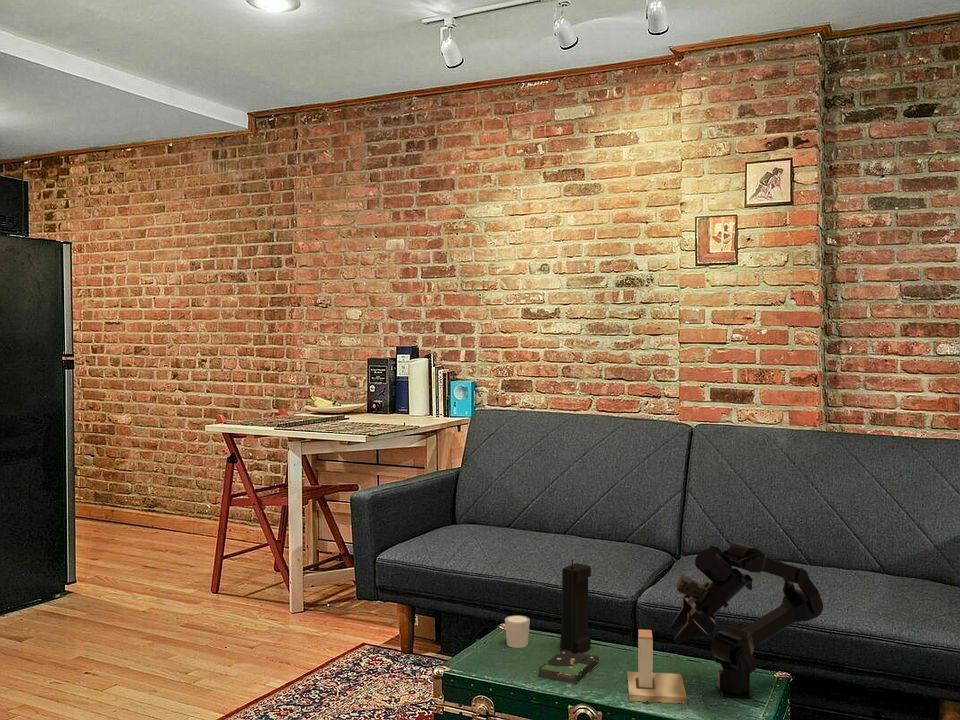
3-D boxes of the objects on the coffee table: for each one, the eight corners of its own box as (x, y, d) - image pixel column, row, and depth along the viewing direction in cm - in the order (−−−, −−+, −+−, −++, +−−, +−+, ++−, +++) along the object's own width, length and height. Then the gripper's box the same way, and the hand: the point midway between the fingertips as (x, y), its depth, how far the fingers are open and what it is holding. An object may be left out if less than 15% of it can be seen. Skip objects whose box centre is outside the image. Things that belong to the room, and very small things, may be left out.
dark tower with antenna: (574, 642, 243) (574, 552, 242) (593, 647, 239) (593, 556, 239) (558, 650, 237) (558, 558, 236) (577, 656, 233) (577, 562, 233)
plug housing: (651, 679, 214) (651, 630, 213) (652, 687, 208) (652, 637, 208) (638, 678, 214) (638, 629, 214) (639, 687, 209) (639, 636, 209)
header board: (680, 680, 217) (681, 661, 217) (686, 703, 203) (686, 684, 203) (627, 677, 219) (627, 659, 219) (629, 701, 205) (629, 681, 205)
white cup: (518, 638, 247) (518, 613, 247) (535, 644, 242) (535, 619, 242) (499, 643, 243) (499, 618, 243) (516, 650, 238) (516, 624, 237)
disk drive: (562, 659, 233) (538, 678, 220) (562, 649, 233) (538, 667, 220) (599, 666, 228) (576, 686, 215) (599, 655, 228) (576, 674, 215)
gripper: (692, 555, 218) (646, 598, 220) (701, 576, 200) (651, 622, 201) (725, 588, 217) (679, 630, 219) (737, 612, 199) (686, 658, 201)
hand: (673, 634), depth 210 cm, fingers open, 9 cm apart
